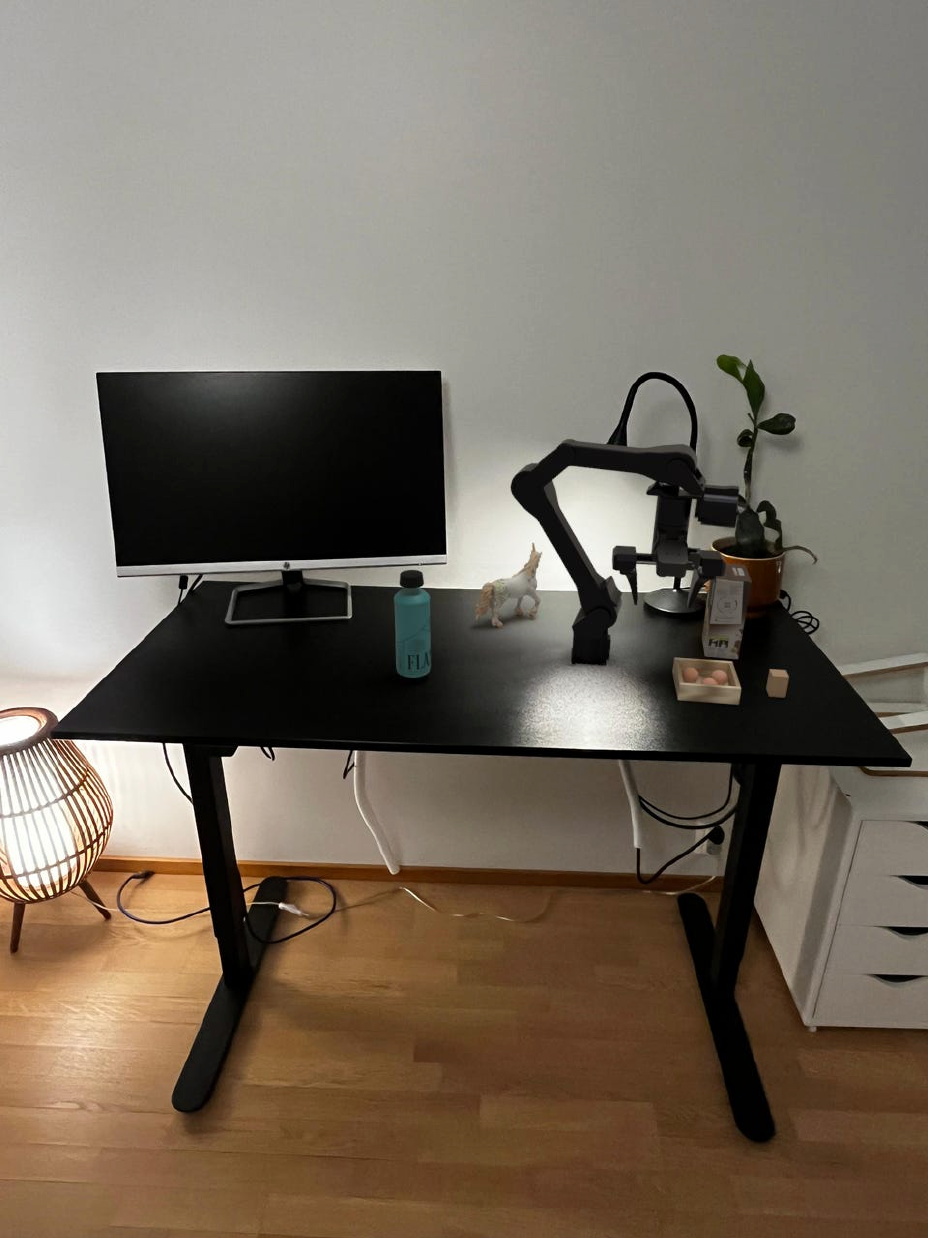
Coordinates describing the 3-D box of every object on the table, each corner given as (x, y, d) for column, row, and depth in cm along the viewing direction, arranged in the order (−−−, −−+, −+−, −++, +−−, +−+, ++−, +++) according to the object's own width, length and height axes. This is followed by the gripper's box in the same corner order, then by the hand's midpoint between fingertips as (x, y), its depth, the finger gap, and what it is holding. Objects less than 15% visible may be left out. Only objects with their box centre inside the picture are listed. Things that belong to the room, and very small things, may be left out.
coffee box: (739, 661, 151) (752, 581, 144) (703, 658, 152) (715, 578, 146) (734, 640, 159) (746, 564, 153) (700, 637, 160) (711, 561, 154)
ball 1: (681, 685, 142) (683, 671, 140) (680, 678, 144) (682, 664, 143) (698, 687, 141) (700, 672, 140) (696, 679, 144) (698, 665, 143)
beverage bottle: (404, 689, 141) (401, 582, 133) (389, 672, 146) (386, 569, 138) (438, 680, 144) (437, 575, 135) (422, 665, 149) (421, 563, 141)
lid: (748, 711, 136) (753, 685, 134) (738, 682, 145) (742, 657, 143) (813, 716, 135) (819, 690, 132) (798, 686, 144) (803, 661, 142)
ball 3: (710, 688, 141) (713, 674, 140) (708, 680, 143) (710, 666, 142) (727, 689, 140) (729, 675, 139) (725, 682, 143) (727, 668, 142)
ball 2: (700, 696, 138) (702, 682, 137) (698, 688, 141) (700, 674, 140) (717, 697, 138) (719, 683, 137) (715, 689, 140) (717, 675, 139)
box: (677, 702, 137) (679, 684, 136) (672, 674, 146) (674, 657, 145) (738, 707, 136) (741, 688, 135) (729, 678, 145) (731, 661, 144)
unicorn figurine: (557, 608, 173) (560, 549, 167) (499, 638, 160) (501, 575, 154) (530, 600, 177) (533, 542, 172) (472, 627, 164) (473, 566, 158)
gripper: (617, 533, 131) (609, 621, 137) (736, 539, 128) (722, 628, 135) (615, 513, 141) (608, 596, 147) (726, 518, 138) (713, 602, 145)
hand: (662, 606), depth 143 cm, fingers open, 9 cm apart
